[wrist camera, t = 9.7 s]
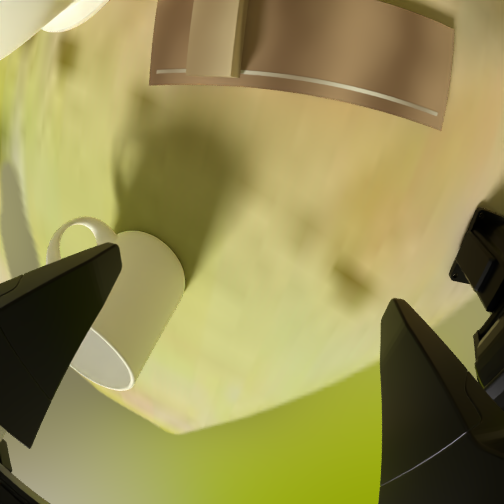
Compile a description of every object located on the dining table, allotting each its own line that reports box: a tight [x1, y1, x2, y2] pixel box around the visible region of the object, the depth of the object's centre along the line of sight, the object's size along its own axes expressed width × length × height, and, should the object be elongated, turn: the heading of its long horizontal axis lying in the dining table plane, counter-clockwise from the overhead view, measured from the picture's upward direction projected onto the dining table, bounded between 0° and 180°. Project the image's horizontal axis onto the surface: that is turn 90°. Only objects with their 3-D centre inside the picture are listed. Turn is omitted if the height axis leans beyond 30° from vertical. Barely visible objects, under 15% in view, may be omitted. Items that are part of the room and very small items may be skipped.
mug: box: [46, 216, 185, 391], centre depth 20 cm, size 9×12×11 cm
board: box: [149, 0, 454, 131], centre depth 13 cm, size 18×7×2 cm, turn 84°
